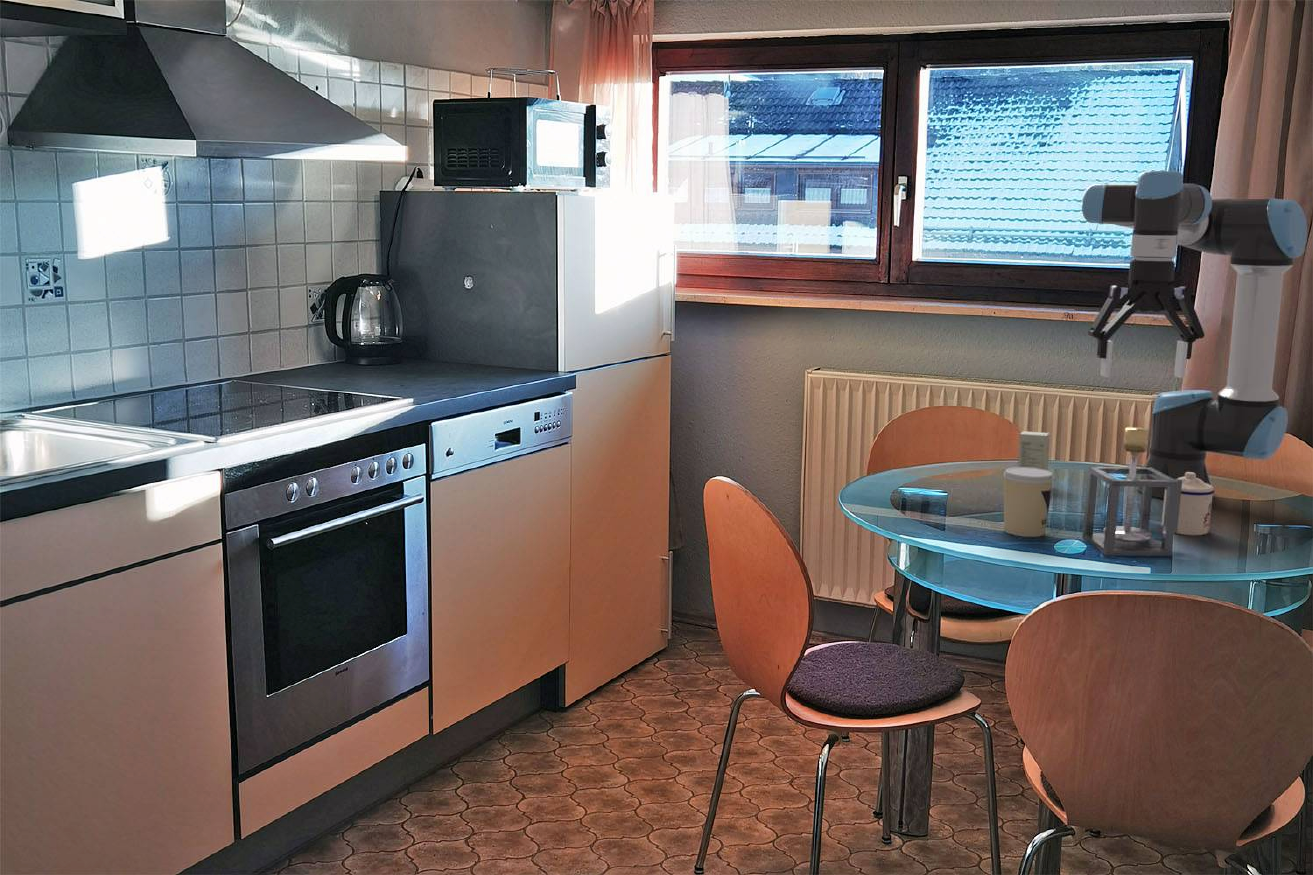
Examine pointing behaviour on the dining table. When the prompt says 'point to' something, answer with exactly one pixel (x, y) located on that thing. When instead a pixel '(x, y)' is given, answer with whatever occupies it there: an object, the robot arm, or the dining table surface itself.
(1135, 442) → the plunger
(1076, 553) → the dining table surface
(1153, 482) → the press frame
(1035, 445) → the skincare box
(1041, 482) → the cream lidded tub
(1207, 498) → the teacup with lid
